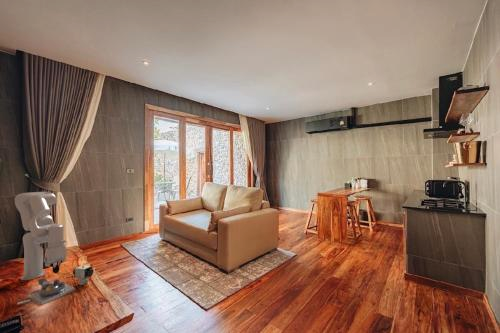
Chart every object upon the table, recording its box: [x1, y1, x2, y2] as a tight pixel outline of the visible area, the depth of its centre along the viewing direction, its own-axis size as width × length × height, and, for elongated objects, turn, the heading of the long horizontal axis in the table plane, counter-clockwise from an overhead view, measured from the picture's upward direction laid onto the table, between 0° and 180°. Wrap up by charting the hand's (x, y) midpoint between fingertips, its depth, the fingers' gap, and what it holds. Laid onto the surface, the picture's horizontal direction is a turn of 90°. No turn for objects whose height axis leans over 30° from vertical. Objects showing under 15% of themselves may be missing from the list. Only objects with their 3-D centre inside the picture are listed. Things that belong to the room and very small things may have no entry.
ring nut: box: [37, 277, 66, 296], centre depth 132 cm, size 22×11×4 cm, turn 64°
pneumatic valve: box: [72, 264, 95, 286], centre depth 142 cm, size 6×12×12 cm, turn 78°
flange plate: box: [16, 283, 76, 306], centre depth 127 cm, size 16×22×2 cm
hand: (55, 272), depth 141 cm, fingers closed
